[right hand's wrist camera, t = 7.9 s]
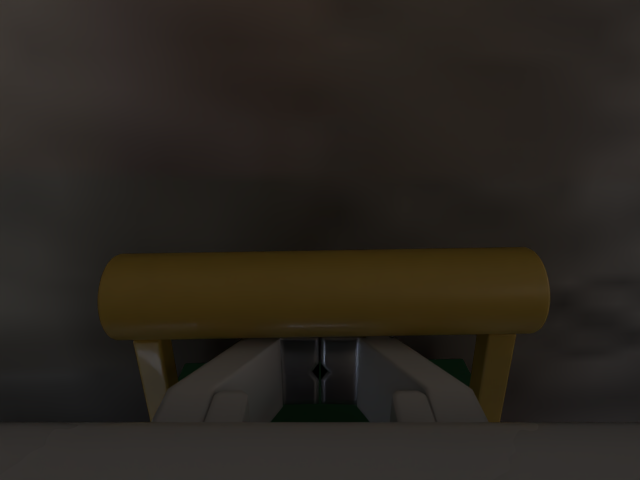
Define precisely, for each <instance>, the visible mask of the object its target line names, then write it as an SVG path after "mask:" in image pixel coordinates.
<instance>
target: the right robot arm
mask: <svg viewBox="0 0 640 480" xmlns="http://www.w3.org/2000/svg"><path fill="white" fill-rule="evenodd" d="M293 404H319V337H287V338H243V339H242V340H240V341H239V342H237V343H236V344H234V345H233V346H231V347H230V348H228V349H227V350H225V351H224V352H222V353H221V354H219V355H218V356H216V357H215V358H213V359H212V360H210V361H209V362H207V363H206V364H204V365H203V366H202V367H200V368H199V369H197V370H196V371H194V372H193V373H191V374H190V375H188V376H187V377H185V378H184V379H182V380H181V381H179V382H178V383H176V384H175V385H173V386H172V387H170V388H169V389H168V390H167V392H166V394H165V396H164V398H163V400H162V402H161V404H160V406H159V408H158V409H157V411H156V413H155V415H154V417H153V419H152V421H151V422H0V480H640V422H488V420H487V418H486V416H485V414H484V412H483V410H482V408H481V406H480V404H479V402H478V400H477V398H476V396H475V394H474V392H473V390H472V389H471V388H469V387H468V386H466V385H465V384H463V383H462V382H460V381H459V380H457V379H456V378H454V377H453V376H452V375H450V374H449V373H447V372H446V371H444V370H443V369H441V368H440V367H438V366H437V365H435V364H434V363H432V362H431V361H429V360H428V359H426V358H425V357H423V356H422V355H420V354H419V353H417V352H416V351H414V350H413V349H411V348H410V347H408V346H407V345H405V344H404V343H402V342H401V341H399V340H398V339H397V338H390V336H348V337H321V404H347V405H357V407H358V408H359V409H360V411H361V412H362V413H363V414H364V416H365V417H366V418H367V419H368V421H369V422H271V421H272V419H273V418H274V417H275V416H276V415H277V413H278V412H279V411H280V410H281V408H282V407H283V405H293Z"/></svg>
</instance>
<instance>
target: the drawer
mask: <svg viewBox="0 0 640 480" xmlns="http://www.w3.org/2000/svg"><path fill="white" fill-rule="evenodd" d="M549 307H550V286H549V280H548V276H547V272H546V269H545V267H544V265H543V263H542V261H541V259H540V258H539V256H538V255H537V254H536V253H535V252H534V251H533V250H531V249H529V248H526V247H494V248H435V249H376V250H317V251H257V252H198V253H139V254H119V255H117V256H115V257H113V258H112V259H111V260H110V261H109V263H108V264H107V265H106V267H105V269H104V271H103V274H102V277H101V280H100V284H99V289H98V313H99V318H100V322H101V325H102V327H103V329H104V331H105V333H106V334H107V335H108V336H109V337H110V338H112V339H115V340H134V341H133V344H134V349H135V353H136V358H137V362H138V367H139V372H140V376H141V381H142V385H143V390H144V395H145V399H146V404H147V408H148V413H149V417H150V422H151V421H152V419H153V417H154V415H155V413H156V411H157V409H158V408H159V406H160V404H161V402H162V400H163V398H164V396H165V394H166V392H167V390H168V389H169V388H170V387H172V386H173V385H175V384H176V383H178V382H179V381H181V380H182V379H184V378H185V377H187V376H188V375H190V374H191V373H193V372H194V371H196V370H197V369H199V368H200V367H202V366H203V365H204V364H206V363H186V364H185V365H184V367H183V369H182V371H181V374H180V376H179V378H178V377H177V371H176V366H175V360H174V354H173V349H172V343H171V339H226V338H287V337H348V336H409V335H470V334H477V338H476V345H475V351H474V358H473V365H472V372H471V374H470V372H469V370H468V368H467V366H466V364H465V363H464V361H463V359H428V360H429V361H431V362H432V363H434V364H435V365H437V366H438V367H440V368H441V369H443V370H444V371H446V372H447V373H449V374H450V375H452V376H453V377H454V378H456V379H457V380H459V381H460V382H462V383H463V384H465V385H466V386H468V387H469V388H471V389H472V390H473V392H474V394H475V396H476V398H477V400H478V402H479V404H480V406H481V408H482V410H483V412H484V414H485V416H486V418H487V420H488V422H500V419H501V413H502V408H503V403H504V397H505V392H506V387H507V381H508V376H509V371H510V365H511V360H512V355H513V349H514V344H515V339H516V334H531V333H534V332H536V331H538V330H540V329H541V328H542V326H543V325H544V323H545V321H546V319H547V316H548V312H549ZM271 422H369V421H368V419H367V418H366V417H365V416H364V414H363V413H362V412H361V411H360V409H359V408H358V407H357V405H347V404H321V361H319V404H293V405H283V407H282V408H281V410H280V411H279V412H278V413H277V415H276V416H275V417H274V418H273V419H272V421H271Z"/></svg>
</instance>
